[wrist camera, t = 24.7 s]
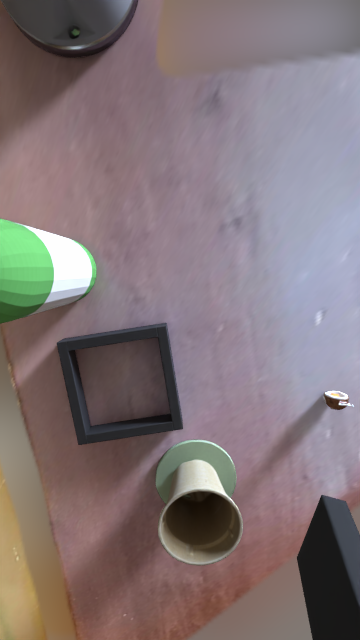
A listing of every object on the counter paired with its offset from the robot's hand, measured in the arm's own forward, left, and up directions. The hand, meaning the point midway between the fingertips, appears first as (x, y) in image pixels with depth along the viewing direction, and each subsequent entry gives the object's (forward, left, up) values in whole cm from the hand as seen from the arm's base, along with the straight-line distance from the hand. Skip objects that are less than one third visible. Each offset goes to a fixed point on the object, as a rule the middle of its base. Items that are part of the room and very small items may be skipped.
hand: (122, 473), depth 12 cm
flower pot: (+17, -14, -31) cm, 38 cm away
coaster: (+17, -14, -31) cm, 38 cm away
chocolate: (+24, +6, -32) cm, 40 cm away
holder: (+1, -9, -31) cm, 33 cm away
